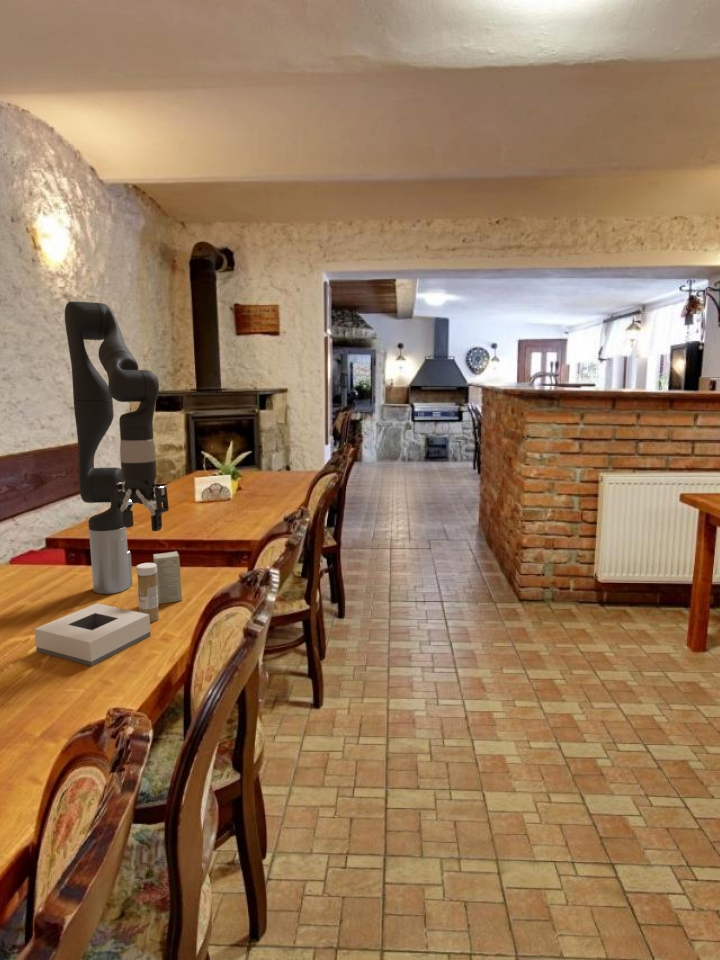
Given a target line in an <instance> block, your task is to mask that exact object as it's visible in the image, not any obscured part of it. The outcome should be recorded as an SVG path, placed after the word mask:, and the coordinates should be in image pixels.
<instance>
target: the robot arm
mask: <svg viewBox="0 0 720 960" xmlns="http://www.w3.org/2000/svg"><path fill="white" fill-rule="evenodd" d="M64 324H65V331H66V339H67V344H68V345H67V346H68V351H69V356H70V366H71V379H72V394H73V408H74V409H73V410H74V418H75V427H76V437H77V451H78V452H77V453H78V455H77V456H78V458H77V459H78V488H79V489H78V491H79V494H80V498H81V500H82V502H84V503H87V504H97V503H100V504H101V503H110V507H109V508H108V509H106V510H104V511H103V512H100V513H97V514H94V515H92V516H90V517H89V519H88V523H87V524H88V536H89V545H90V546H89V548H90V561H91V574H92V587H93V592H94V593H96V594H99V595H100V594H101V595H102V594H103V595H111V594H117V593H121V592H125V591H127V590H128V589H129V588H130V587H131V586H133V573H132V572H133V571H132V570H133V569H132V568H133V567H132V553H131V551H130V550H129V549H128V535H127V528H128V529H129V528H131V527H134V513H133V512H134V511H133V510H132V509H133V508H134V506H135V504H139V505H143V506H144V507H145V508H146V509H147V510H148V511H149V513H150V514H151V515H150V519H151V521H150V523H151V531H152V532H159V531H161V529H163V528H162V527H163V523H162V522H163V520H162V518H163V516H162V515H163V514H164V513H167V512H169V510H170V507H169V498H168V497H169V496H168V488H167V485H160V486H156V484H155V481H156V479H157V477H158V473H157V472H158V471H157V458H156V447H155V446H156V445H155V442H154V441H155V440H154V426H153V424H154V423H153V421H154V414H155V409H156V402H157V400H158V396H159V389H160V384H159V383H160V382H159V378H158V377H157V375H156V374H155V373H154V372H153V371H152V370H148V369H145V370H144V369H139V365H138V362H137V360H136V358H135V357H134V355H133V354H132V352H130V350H129V348H128V346H127V344H126V343H125V340H124V338H123V334H122V331H121V329H120V326H119V323H118V320H117V319H116V316H115V313H114V312H113V310H112V308H111V307H110V306H109V305H108V304H106V303H103V302H90V301H76V300H75V301H73V300H72V301H69V302H67V303H66V305H65V307H64ZM85 341H102V342H101V344H100V346H99V347H98V360H99V361H100V364H101V366H102V367H103V369H104V371H105V372H106V374H107V379H108V381H107V382H108V383H107V382H106V380H105V379H104V378H103V376H102V375H101V374H100V373H99V371H98V369H96V367H95V366H94V364H93V362H92V361H91V359H90V357H89V355H88V352H87V349H86V346H85ZM113 400H115V401H117V402H120V403H133V402H134V403H137V402H139V406H138V407H137V408H136V409H135V410H133V411H129V412H125V413H122V414H120V416H119V421H118V422H119V437H120V438H119V439H120V447H119V455H120V467H94V463H95V462H94V461H95V457H96V453H97V452H96V451H97V450H98V447H99V446H100V444H101V441H102V440H103V439H104V438H105V436H106V433H107V432H108V430H109V428H110V427H111V425H112V422H113V421H114V402H113Z"/></svg>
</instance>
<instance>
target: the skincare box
mask: <svg viewBox="0 0 720 960" xmlns="http://www.w3.org/2000/svg"><path fill="white" fill-rule="evenodd" d="M152 555H153V557H152V558H153V563H155V564H156V565H157V574H156V575H157V588H158V605H159V604H167V603H173V602H179V601H183V594H182V593H183V592H182V580H181V578H182V577H181V563H180V555H179V552H178V551H177V550H175V551H169V552H162V553H155V554H154V553H153V554H152Z"/></svg>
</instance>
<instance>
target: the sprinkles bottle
mask: <svg viewBox="0 0 720 960" xmlns="http://www.w3.org/2000/svg"><path fill="white" fill-rule="evenodd" d="M135 567H136V568H135V569H136V571H135V573H136V576H137V587H138V588H137V595H138V607H139V609H138V610H139V611H138V612H140V613H145V614H149V618H150V623H152V622H155V621H156V622H157V620H159V619H160V615H159V604H158V588H157V575H156V574H157V565H156V564H155V563H154V562H144V563H140V564H137V565H136V566H135Z"/></svg>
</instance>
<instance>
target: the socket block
mask: <svg viewBox="0 0 720 960" xmlns="http://www.w3.org/2000/svg"><path fill="white" fill-rule="evenodd" d="M34 635H35V636H34V637H35V639H34V640H35V648H36V652H38V653H41V654H46V655H48V656H53V657H56V658H60V659H64V660H66V661H70V662H74V663H79V664H82V665H85V666H89V667H93V666H95V665H97V664H99V663H101V662H103V661H104V660H106V659H109V658H111V657H113V656H115V655H116V654H119V653H120V652H122V651H124V650H126V649H128V648H129V647H132V646H135V645H136V644H137V643H140V642H142V641H143V640H145V639H147V638H149V637H151V622H150V618H149V614H145V613H140V611H136V610H135V611H134V610H130V609H127V608H126V609H125V608H119V607H115V606H111V605H106V604H102V603H98V602H96V603H94V604H92V605H89V606H87V607H84V608H82V609H79V610H77V611H74V612H72V613H70V614H68V615H65V616H63V617H62V616H61V617H60V618H57V619H55V620H52V621H51V622H48V623H45V624H42V625H40V626H38V627H36V628H34Z"/></svg>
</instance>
